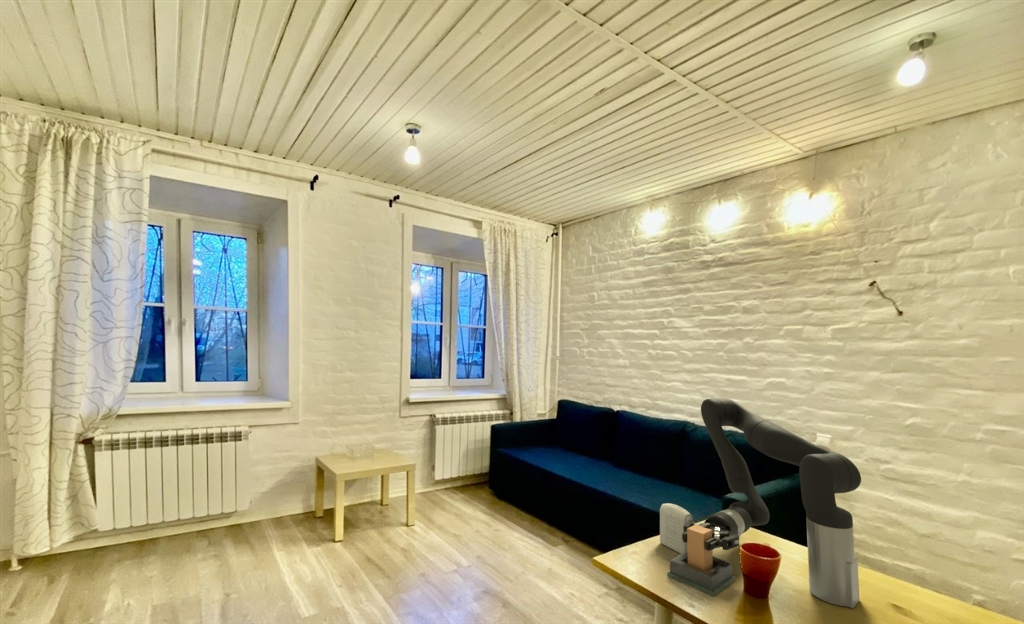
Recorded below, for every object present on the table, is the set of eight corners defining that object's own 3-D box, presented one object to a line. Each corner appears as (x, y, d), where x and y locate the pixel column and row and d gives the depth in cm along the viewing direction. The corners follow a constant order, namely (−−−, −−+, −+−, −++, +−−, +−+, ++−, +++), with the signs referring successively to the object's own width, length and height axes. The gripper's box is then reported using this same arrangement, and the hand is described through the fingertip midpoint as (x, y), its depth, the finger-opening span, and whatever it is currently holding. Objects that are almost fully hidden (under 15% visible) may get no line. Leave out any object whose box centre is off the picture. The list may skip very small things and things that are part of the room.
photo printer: (695, 554, 126) (695, 509, 127) (685, 557, 124) (684, 512, 125) (667, 540, 135) (667, 499, 136) (657, 543, 133) (657, 501, 134)
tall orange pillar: (712, 574, 112) (711, 529, 113) (704, 579, 109) (703, 534, 110) (696, 567, 116) (695, 524, 117) (687, 572, 113) (687, 528, 114)
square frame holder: (735, 580, 111) (734, 563, 112) (713, 596, 104) (713, 578, 104) (690, 562, 121) (690, 547, 121) (667, 576, 113) (667, 559, 113)
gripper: (699, 505, 128) (669, 518, 117) (751, 520, 117) (723, 536, 106) (700, 531, 127) (669, 547, 117) (752, 549, 116) (724, 568, 106)
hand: (695, 542), depth 111 cm, fingers open, 5 cm apart
